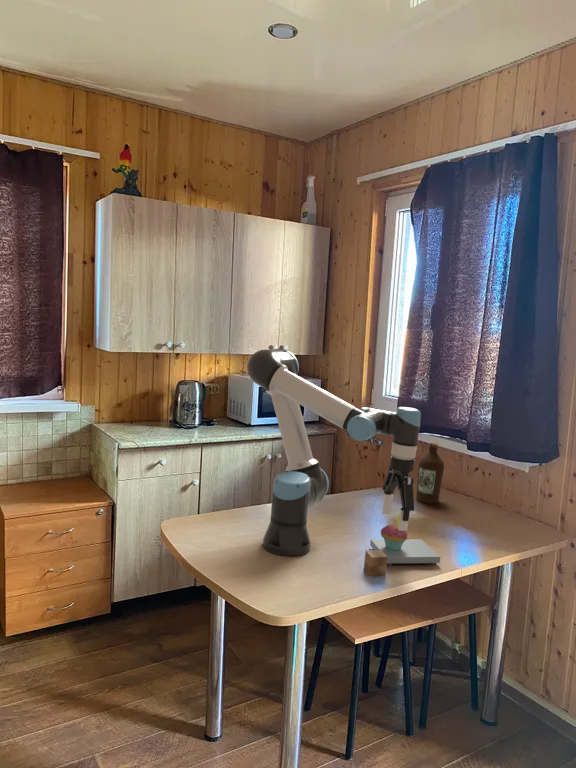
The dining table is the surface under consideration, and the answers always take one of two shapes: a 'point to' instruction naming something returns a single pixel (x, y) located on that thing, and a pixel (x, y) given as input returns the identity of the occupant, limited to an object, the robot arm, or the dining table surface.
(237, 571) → the dining table surface
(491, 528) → the dining table surface
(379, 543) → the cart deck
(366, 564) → the walnut block
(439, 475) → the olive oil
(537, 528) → the dining table surface
